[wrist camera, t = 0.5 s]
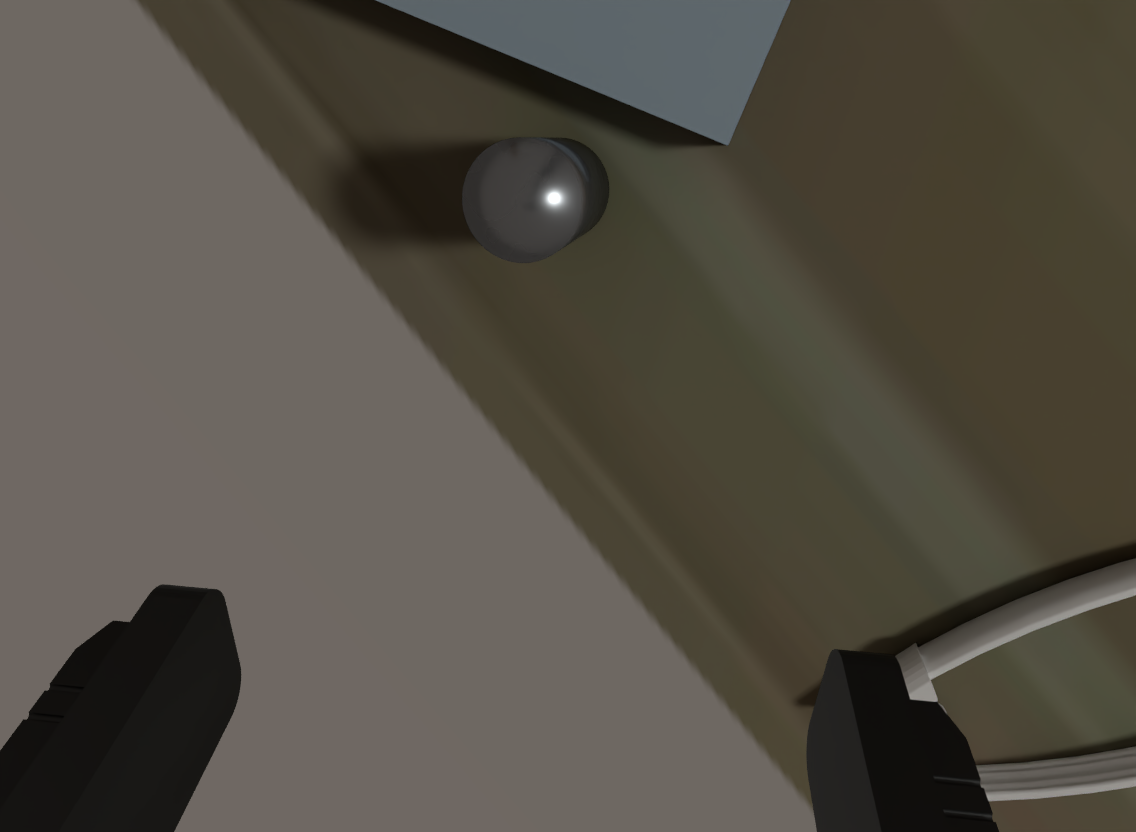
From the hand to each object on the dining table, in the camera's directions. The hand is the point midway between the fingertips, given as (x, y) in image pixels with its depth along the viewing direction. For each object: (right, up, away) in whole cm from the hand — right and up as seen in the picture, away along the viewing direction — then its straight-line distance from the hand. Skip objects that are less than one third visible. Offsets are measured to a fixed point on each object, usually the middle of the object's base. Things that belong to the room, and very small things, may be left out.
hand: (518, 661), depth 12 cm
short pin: (0, +12, +24) cm, 27 cm away
